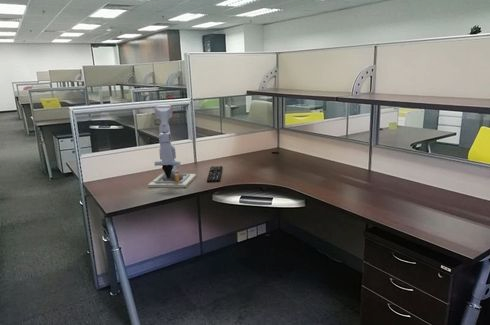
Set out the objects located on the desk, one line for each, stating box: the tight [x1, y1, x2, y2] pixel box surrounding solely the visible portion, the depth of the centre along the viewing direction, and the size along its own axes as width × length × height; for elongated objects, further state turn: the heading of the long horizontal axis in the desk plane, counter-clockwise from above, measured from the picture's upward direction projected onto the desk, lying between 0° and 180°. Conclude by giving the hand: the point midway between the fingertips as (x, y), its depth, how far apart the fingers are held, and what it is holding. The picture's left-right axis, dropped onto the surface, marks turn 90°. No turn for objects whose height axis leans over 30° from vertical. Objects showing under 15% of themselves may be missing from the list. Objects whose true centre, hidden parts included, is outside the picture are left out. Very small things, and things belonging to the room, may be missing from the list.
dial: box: [162, 170, 183, 181], centre depth 208 cm, size 16×12×5 cm
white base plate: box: [147, 173, 197, 188], centre depth 211 cm, size 22×22×2 cm
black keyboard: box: [206, 165, 223, 183], centre depth 223 cm, size 8×32×2 cm, turn 1°
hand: (168, 177), depth 202 cm, fingers closed
